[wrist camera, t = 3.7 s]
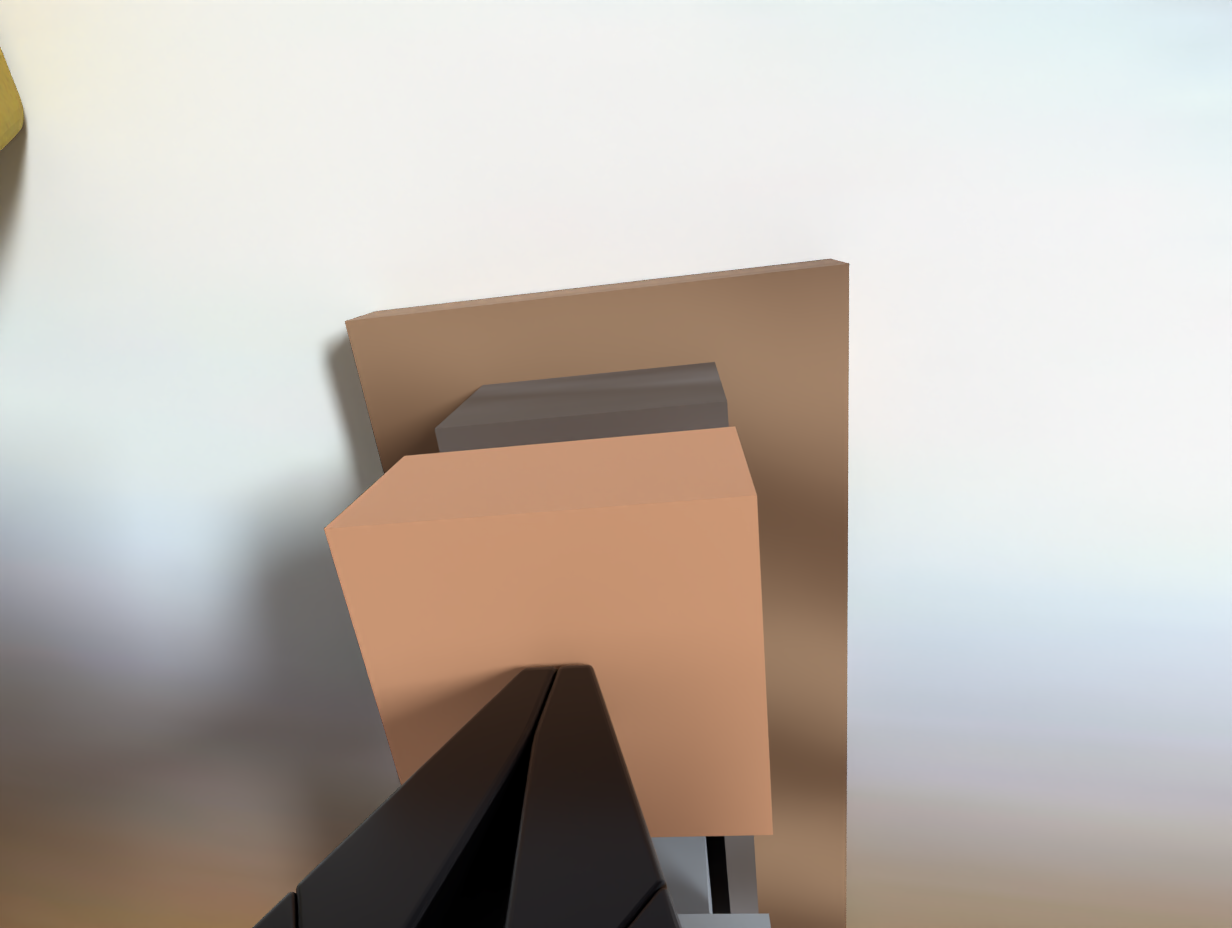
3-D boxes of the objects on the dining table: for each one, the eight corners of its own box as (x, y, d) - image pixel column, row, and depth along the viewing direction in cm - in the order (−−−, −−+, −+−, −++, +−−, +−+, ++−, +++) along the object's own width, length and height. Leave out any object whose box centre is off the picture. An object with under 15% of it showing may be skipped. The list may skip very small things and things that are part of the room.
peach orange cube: (734, 604, 14) (772, 835, 8) (508, 617, 14) (418, 842, 9) (719, 377, 12) (756, 494, 7) (463, 401, 12) (323, 528, 7)
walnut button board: (833, 1004, 22) (873, 1191, 18) (541, 1002, 23) (513, 1178, 19) (830, 258, 14) (902, 277, 9) (375, 311, 15) (259, 348, 11)
